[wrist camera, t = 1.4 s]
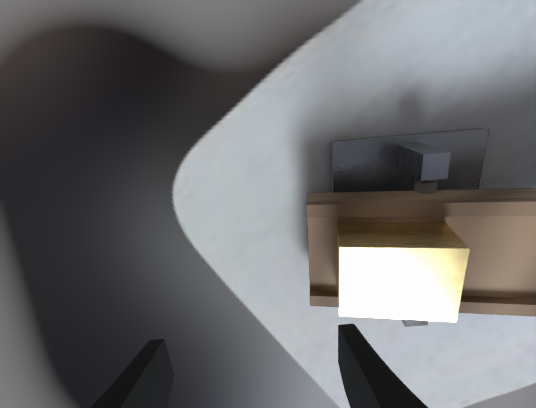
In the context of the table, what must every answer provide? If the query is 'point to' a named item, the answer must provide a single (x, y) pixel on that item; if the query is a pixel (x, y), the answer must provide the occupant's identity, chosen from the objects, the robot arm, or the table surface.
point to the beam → (460, 221)
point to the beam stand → (409, 164)
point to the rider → (400, 270)
